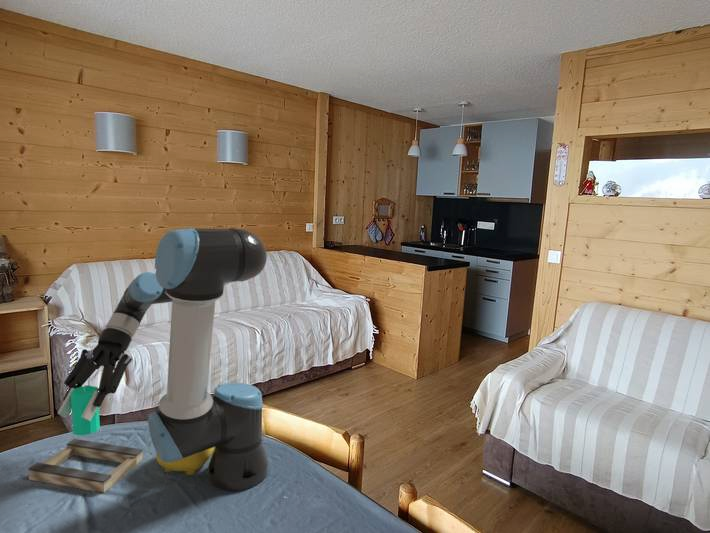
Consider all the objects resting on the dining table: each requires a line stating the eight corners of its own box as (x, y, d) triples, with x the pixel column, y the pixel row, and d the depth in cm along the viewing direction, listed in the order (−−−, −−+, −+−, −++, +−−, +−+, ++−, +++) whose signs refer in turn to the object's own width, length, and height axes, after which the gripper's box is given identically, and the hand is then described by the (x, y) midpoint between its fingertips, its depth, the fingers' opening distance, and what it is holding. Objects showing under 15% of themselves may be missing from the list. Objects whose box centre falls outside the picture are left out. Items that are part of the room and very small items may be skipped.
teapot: (227, 445, 127) (227, 404, 125) (192, 489, 107) (191, 441, 106) (184, 439, 129) (183, 399, 127) (141, 481, 109) (140, 435, 108)
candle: (87, 437, 108) (84, 390, 107) (66, 433, 110) (63, 387, 108) (105, 425, 114) (103, 381, 112) (85, 422, 115) (83, 378, 114)
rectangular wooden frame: (142, 459, 118) (142, 449, 118) (104, 492, 105) (103, 481, 104) (74, 448, 122) (74, 438, 122) (29, 479, 108) (28, 468, 108)
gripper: (156, 343, 122) (116, 427, 109) (96, 336, 126) (50, 417, 112) (143, 329, 117) (99, 417, 103) (80, 323, 120) (30, 407, 106)
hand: (73, 417), depth 108 cm, fingers closed on candle, 6 cm apart
